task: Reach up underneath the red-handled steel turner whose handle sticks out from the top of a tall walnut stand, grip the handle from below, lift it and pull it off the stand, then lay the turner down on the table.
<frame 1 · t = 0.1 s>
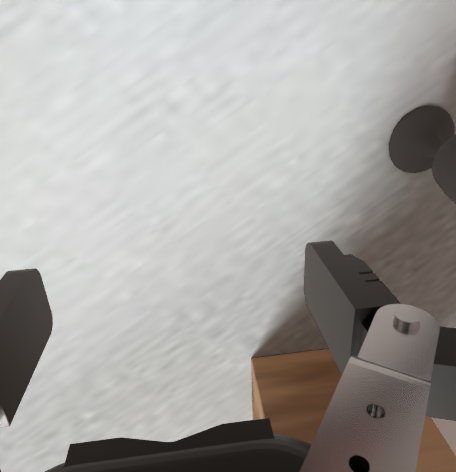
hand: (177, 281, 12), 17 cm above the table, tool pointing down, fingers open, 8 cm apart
sundae: (419, 139, 30), on the table
stand: (314, 392, 42), on the table
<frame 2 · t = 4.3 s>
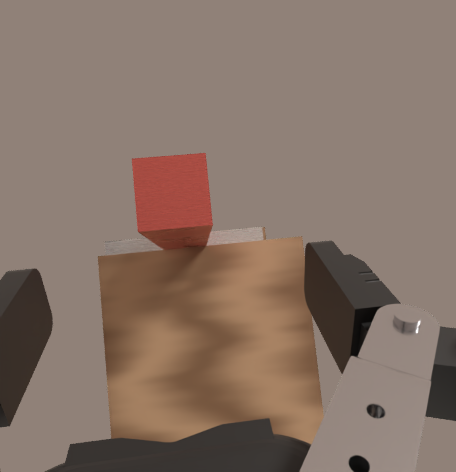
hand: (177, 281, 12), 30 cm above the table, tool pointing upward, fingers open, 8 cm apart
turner: (180, 238, 17), point 32 cm above the table, touching stand
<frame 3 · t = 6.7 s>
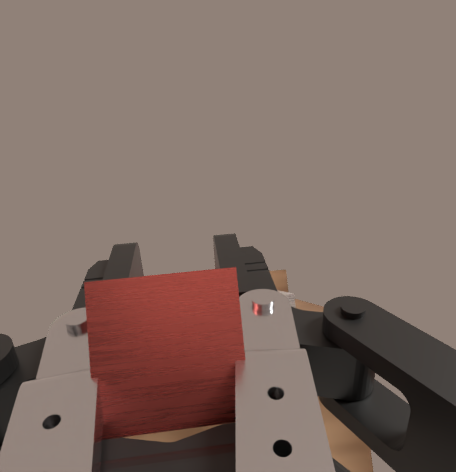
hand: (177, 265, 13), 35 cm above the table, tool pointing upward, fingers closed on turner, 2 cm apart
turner: (183, 369, 10), point 32 cm above the table, touching gripper
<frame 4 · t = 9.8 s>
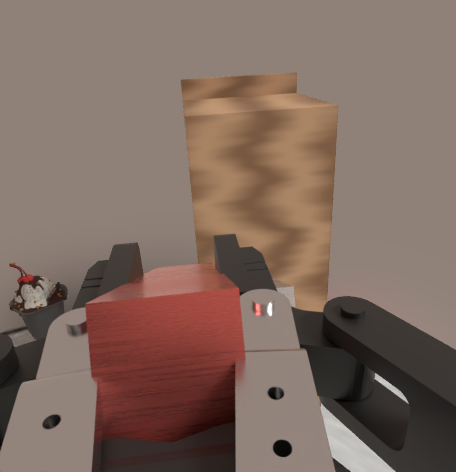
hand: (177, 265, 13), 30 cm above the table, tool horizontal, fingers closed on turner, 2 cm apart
sundae: (57, 361, 54), on the table
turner: (184, 373, 10), point 29 cm above the table, tilted 26°, touching gripper
stand: (257, 371, 50), on the table
when the fingers open (10 cm above the table, at t = 12.6 s): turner drops 9 cm, on the table.
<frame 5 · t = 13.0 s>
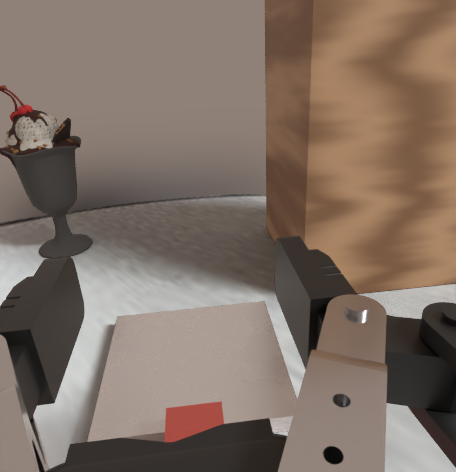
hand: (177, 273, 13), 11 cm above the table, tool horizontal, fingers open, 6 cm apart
sundae: (66, 248, 39), on the table
stand: (347, 251, 35), on the table
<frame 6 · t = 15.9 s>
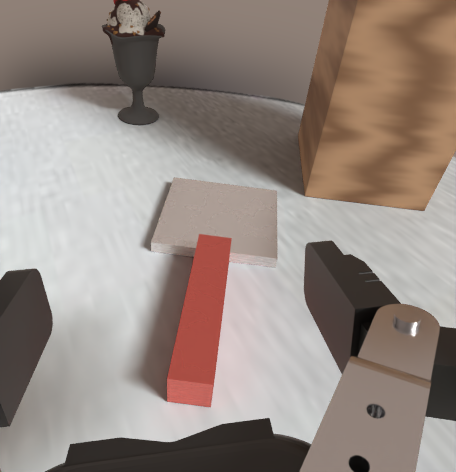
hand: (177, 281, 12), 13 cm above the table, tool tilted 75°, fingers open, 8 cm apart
sundae: (138, 117, 50), on the table
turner: (198, 344, 26), on the table
stand: (354, 169, 45), on the table
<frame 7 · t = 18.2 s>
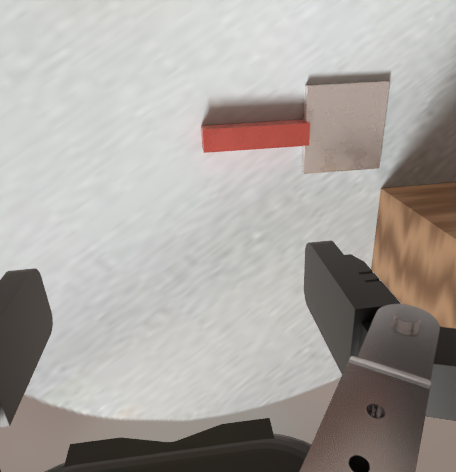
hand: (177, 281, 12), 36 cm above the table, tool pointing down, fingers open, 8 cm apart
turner: (236, 134, 46), on the table
stand: (421, 226, 55), on the table
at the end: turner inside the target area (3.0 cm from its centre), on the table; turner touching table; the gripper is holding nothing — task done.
